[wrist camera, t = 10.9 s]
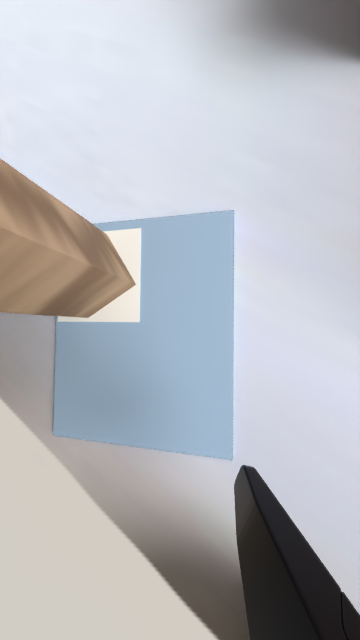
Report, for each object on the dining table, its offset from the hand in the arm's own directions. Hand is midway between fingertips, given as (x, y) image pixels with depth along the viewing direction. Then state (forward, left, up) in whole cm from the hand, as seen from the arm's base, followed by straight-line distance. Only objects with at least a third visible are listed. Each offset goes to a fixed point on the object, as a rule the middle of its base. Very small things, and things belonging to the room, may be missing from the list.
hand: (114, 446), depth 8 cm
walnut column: (+8, +7, -10) cm, 15 cm away
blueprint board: (+4, +4, -10) cm, 12 cm away
